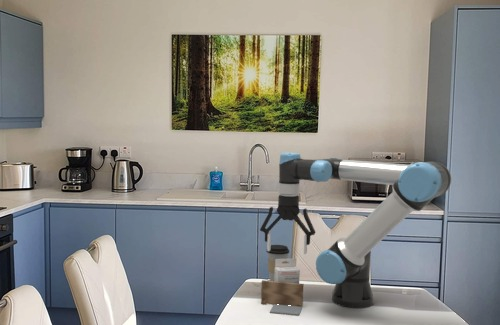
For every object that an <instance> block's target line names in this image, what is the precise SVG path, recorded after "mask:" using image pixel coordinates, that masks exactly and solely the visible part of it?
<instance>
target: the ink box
mask: <svg viewBox="0 0 500 325" xmlns="http://www.w3.org/2000/svg"><path fill="white" fill-rule="evenodd" d="M285 261H287V262H288V263H282V262H285ZM300 272H301V271H300V269H299V268H298V267H297V259H296V258H288V259H276V260H275V274H274V281H275V282H287V283H298V284H300V275H301V273H300Z"/></svg>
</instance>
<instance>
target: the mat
mask: <svg viewBox="0 0 500 325" xmlns="http://www.w3.org/2000/svg"><path fill="white" fill-rule="evenodd" d="M302 309H303V307H298V306H288V305H277V304H272V307H271V309H270V310H269V313H270V314H278V315H285V314H286V315H289V316H296V317H299V316H300V314H301V312H302Z"/></svg>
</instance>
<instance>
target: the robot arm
mask: <svg viewBox="0 0 500 325" xmlns="http://www.w3.org/2000/svg"><path fill="white" fill-rule="evenodd" d="M278 166H279V170H278V171H279V175H278V180H279V181H278V194H279V195H278V196H277V197H278V200H277V201H278V203H277V207H275V206H270V207H269V209H268V210H269V211H268V214H267V215H266V218H265V219H264V221H263V223H262V225H261V227H260V228H259V231H260V232H263V233H264V242H265V243H266V242H267V243H266V244H267V246H266V247H267V248H266V251H270V250H271V245H272V244H271V243H272V232H270V231H271V230H272V229H273V228H274V227H275V226H276V224H278V222H280V221H281V220H283V221H294V222H296V223H297V225H298V227H299V228H300V229H301V230H302V231H303V232H304V234H305V235H304V238H303V255H306V254H307V253H308V252H307V251H308V246H310V244H311V236H315V234H316V229H315V227H314V225H313V223H312V221H311V219H310V217H309V215H308V208H301V209H300V207H299V206H300V196H299V194H300V181H309V182H310V181H311V182H312V181H313V182H316V183H320V182H321V183H322V182H323V183H326V182H328V181H329V180H340V181H341V180H342V181H349V182H360V183H368V184H379V185H387V186H389V185H390V186H392V192H391V193H390V194H389V195H388V196H387V197H386V198H385V199H384V200H383V201H382V202H381V203H380V204H379V205H378V206H377V207H376V208H375V209H373V211H372V212H371V213H369V215H367V217H366V218H364V220H362V222H361V223H360V224H358V226H357V227H355V228H354V230H353V231H352V232H351V233H350V234H348V236H347V237H339V238H338V239H337V240H336V241H335V242H334V243H333V244H331V246H330V247H329V248H328V249H326V250H323V251H321V252H320V254H318V256H317V257H316V259H315V269H316V273H317V275H318V276H319V278H320V279H321V280H322V281H323V282H325V283H326V284H329V285H334V288H333V290H332V292H331V301H332V302H333V303H334V304H335V305H338V306H341V307H346V308H354V309H355V308H356V309H357V308H358V309H359V308H360V309H361V308H368V307H371V306H373V305H374V298H375V296H374V294H373V290H372V286H371V283H370V282H371V281H370V277H371V276H370V273H371V253H372V250H374V248H375V247H376V246H377V245H379V244H380V243H381V241H383V240H384V239H385V238H386V237H387V236H388V235H389V234H390V233H391V232H392V231H393V230H394V229H395V228H397V227H398V226H399V224H400V223H402V222H403V221H404V220H405V219H406V218H407V217H408V216H409V215H410V214H411V213H412V212H421V210H423V209H424V208H425V207H426V206H427V205H428V204H429V203H430V202H431V201H433V199H434V198H437V197H440V196H442V195H444V194H445V193H446V192H447V191H448V190H449V189H450V186H451V184H452V174H451V173H450V171H449V169H448V167H447V166H446V165H444V164H443V163H440V162H439V161H434V160H431V161H430V160H429V161H422V162H421V161H419V162H417V161H416V162H415V161H413V162H411V163H410V164H403V163H391V162H390V163H389V162H378V161H367V160H366V161H365V160H352V159H342V158H341V159H339V158H337V157H330V158H322V159H321V158H319V159H304V158H302V157H301V154H300V153H298V152H281V154H280V155H279V164H278ZM276 212H277V214H278V216H277V217H276V218H275V219H274V220H273V222H272V223H271V224H270V225H269V226H267V225H268V224H269V222H270V220H271V217H272V216H273V214H275V213H276ZM299 214H301V215H302V216H303V218H304V220H305V223H306V224H307V227H308V228H307V227H306V225H305V224H304V222H303V221H302V220H301V219H300V217H299V216H298V215H299ZM266 227H267V228H266Z"/></svg>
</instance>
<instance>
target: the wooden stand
mask: <svg viewBox="0 0 500 325" xmlns="http://www.w3.org/2000/svg"><path fill="white" fill-rule="evenodd" d="M304 286H305V285H304V283H299V284H298V283H287V282H275V281H270V280H264V279H263V280H261V295H260V304H261V305H274V304H279V305H291V306H298V307H302V308H303V306H304Z"/></svg>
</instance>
